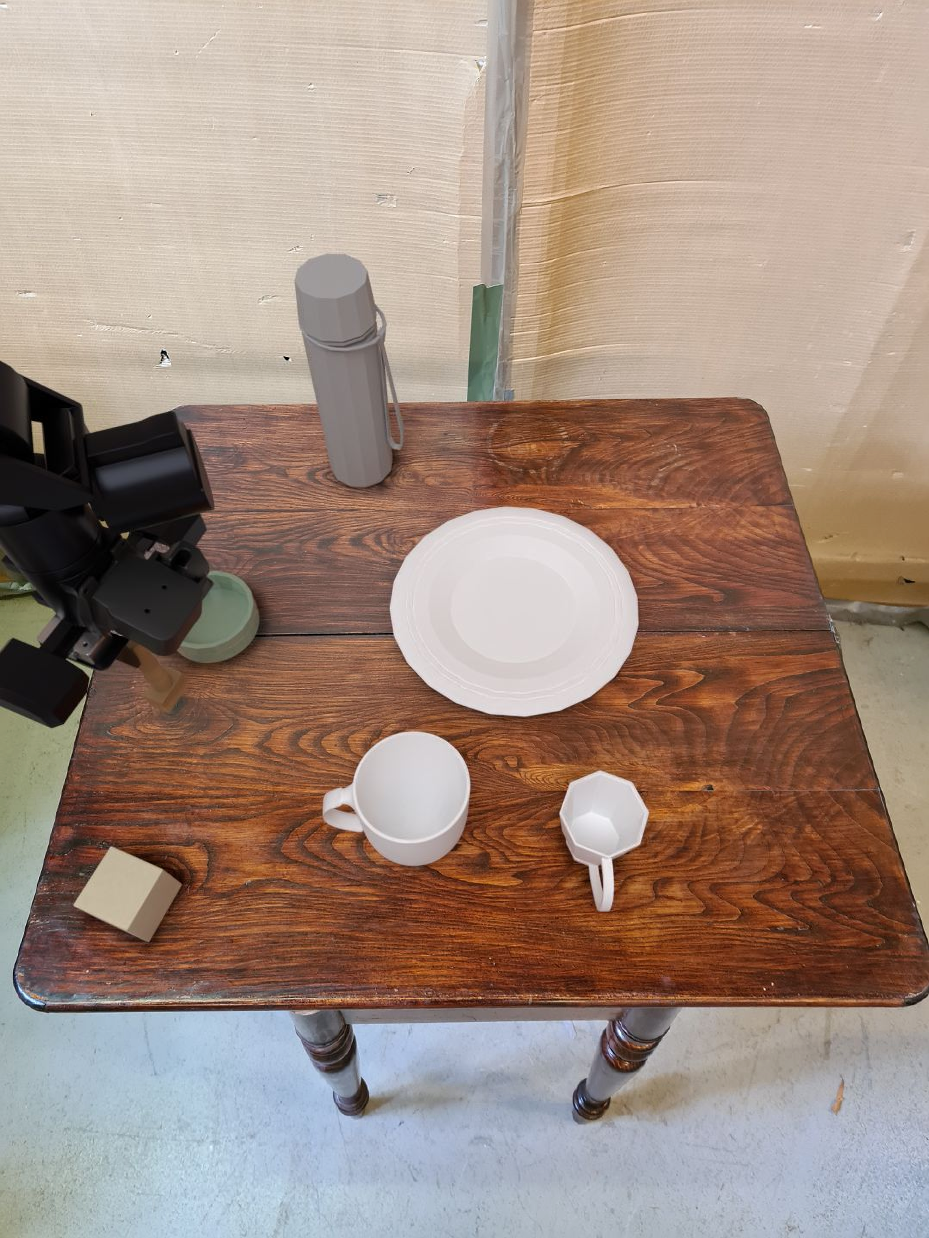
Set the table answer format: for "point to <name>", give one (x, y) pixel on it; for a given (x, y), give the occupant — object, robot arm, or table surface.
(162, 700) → the stirring stick
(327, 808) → the mug
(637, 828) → the cup
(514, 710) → the plate
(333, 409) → the water bottle
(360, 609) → the table surface
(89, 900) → the stick stand
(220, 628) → the bowl
